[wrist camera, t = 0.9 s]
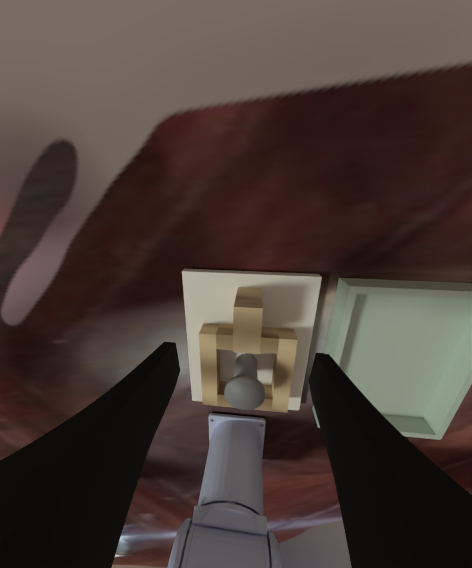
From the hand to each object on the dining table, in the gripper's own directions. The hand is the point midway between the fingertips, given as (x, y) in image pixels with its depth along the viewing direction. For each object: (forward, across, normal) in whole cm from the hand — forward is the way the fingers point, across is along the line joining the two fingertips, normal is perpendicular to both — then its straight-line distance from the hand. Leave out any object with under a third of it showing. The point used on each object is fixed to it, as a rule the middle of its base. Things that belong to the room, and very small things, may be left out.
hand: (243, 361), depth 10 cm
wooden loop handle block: (+10, 0, +8) cm, 13 cm away
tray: (+11, -16, +9) cm, 21 cm away
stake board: (+11, 0, +9) cm, 14 cm away
